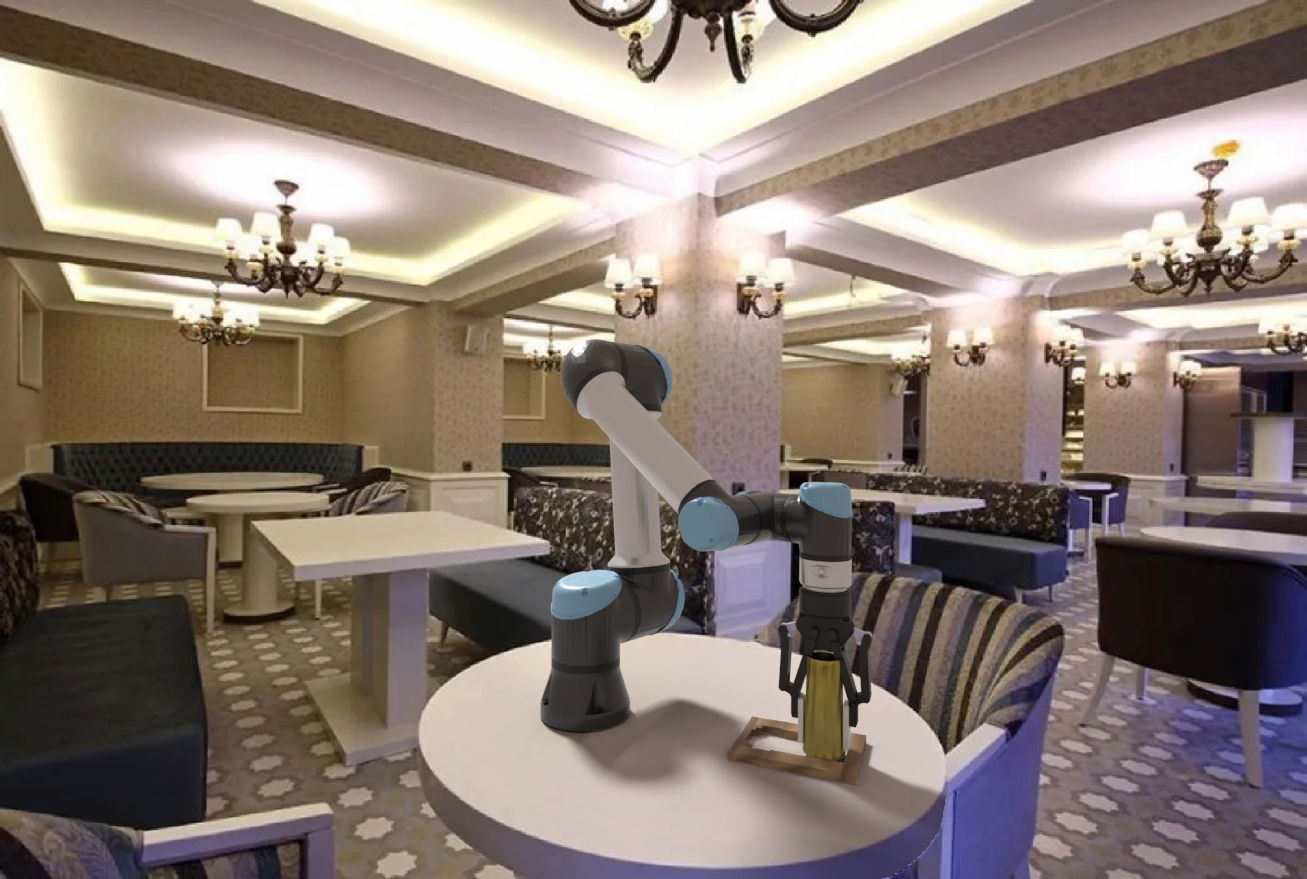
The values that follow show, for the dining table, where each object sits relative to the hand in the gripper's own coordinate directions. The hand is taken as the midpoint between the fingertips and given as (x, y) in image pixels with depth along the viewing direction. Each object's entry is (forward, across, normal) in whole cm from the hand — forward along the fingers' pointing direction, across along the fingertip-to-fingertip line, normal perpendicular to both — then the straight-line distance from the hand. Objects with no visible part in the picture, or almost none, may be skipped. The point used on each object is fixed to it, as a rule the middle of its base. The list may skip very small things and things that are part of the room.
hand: (824, 742), depth 101 cm
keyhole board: (+2, -4, 0) cm, 4 cm away
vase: (+2, 0, 0) cm, 2 cm away
